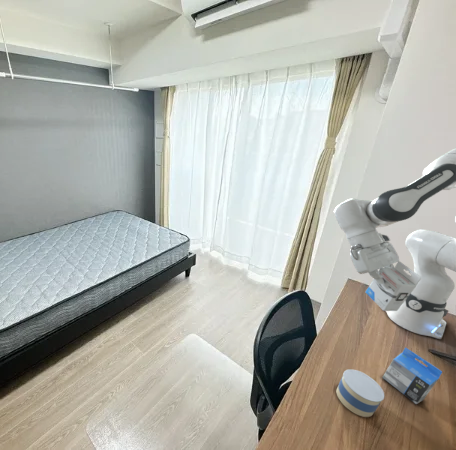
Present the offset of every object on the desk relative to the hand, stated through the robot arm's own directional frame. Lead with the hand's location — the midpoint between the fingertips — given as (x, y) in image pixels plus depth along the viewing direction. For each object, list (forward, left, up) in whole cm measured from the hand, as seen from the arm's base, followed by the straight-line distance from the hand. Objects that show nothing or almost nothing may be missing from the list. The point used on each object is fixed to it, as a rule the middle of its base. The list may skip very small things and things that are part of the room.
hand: (388, 281), depth 81 cm
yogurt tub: (+26, +12, -27) cm, 40 cm away
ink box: (0, 0, -8) cm, 8 cm away
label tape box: (+8, +16, -28) cm, 33 cm away
